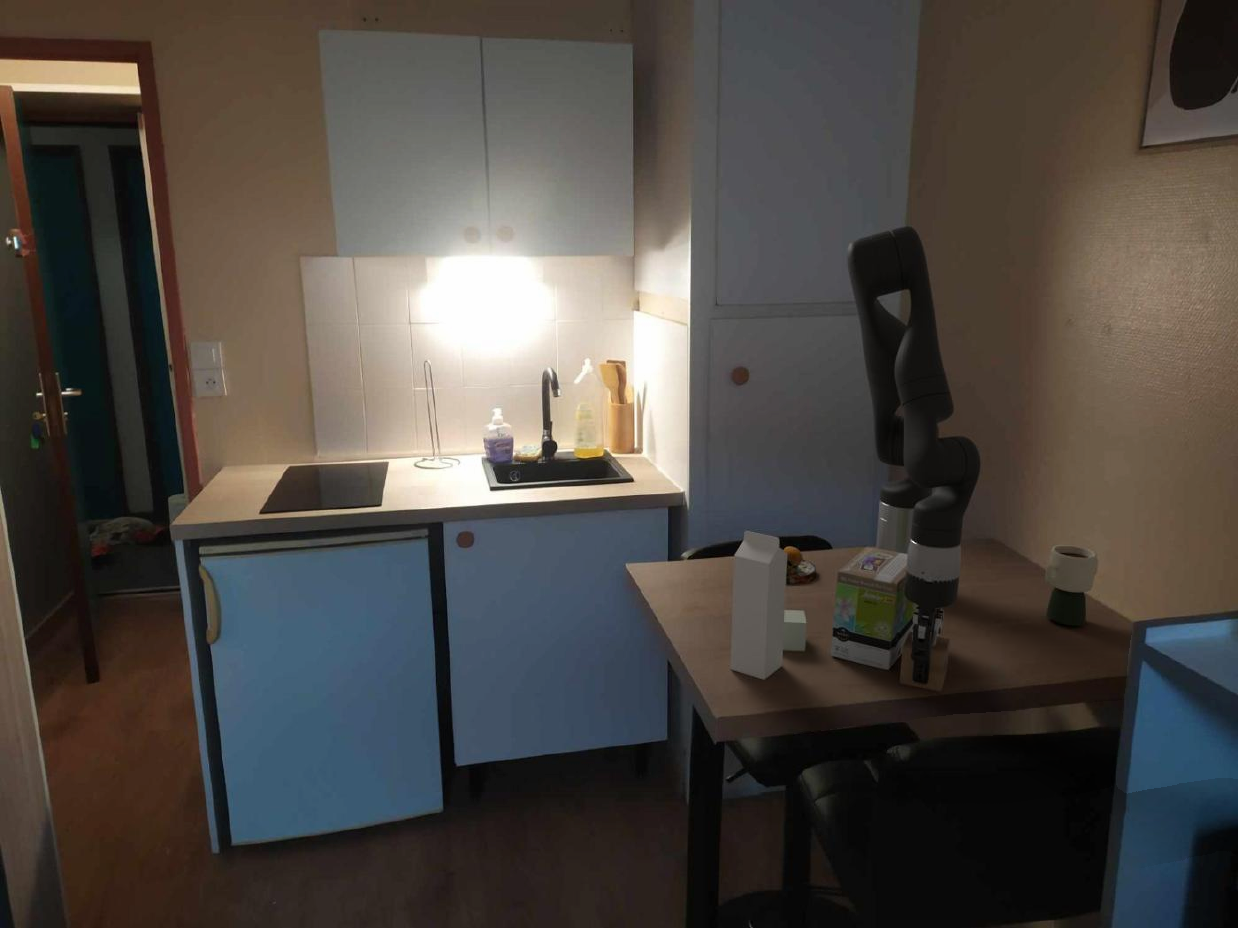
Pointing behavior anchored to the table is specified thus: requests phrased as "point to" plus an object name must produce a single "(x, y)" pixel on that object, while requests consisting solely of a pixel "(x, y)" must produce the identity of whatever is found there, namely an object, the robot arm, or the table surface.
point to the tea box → (872, 609)
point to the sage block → (794, 630)
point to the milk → (758, 606)
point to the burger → (798, 567)
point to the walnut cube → (936, 664)
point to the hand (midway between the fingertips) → (923, 672)
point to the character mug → (1070, 583)
